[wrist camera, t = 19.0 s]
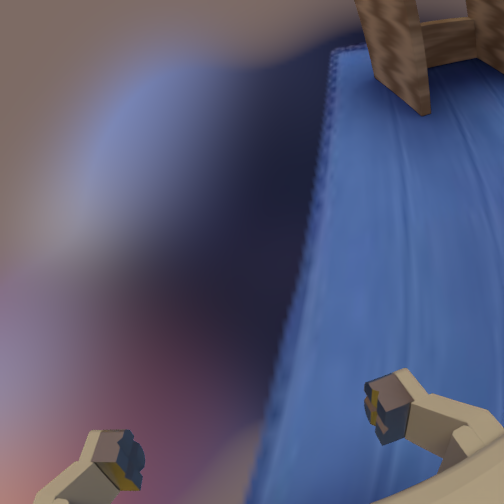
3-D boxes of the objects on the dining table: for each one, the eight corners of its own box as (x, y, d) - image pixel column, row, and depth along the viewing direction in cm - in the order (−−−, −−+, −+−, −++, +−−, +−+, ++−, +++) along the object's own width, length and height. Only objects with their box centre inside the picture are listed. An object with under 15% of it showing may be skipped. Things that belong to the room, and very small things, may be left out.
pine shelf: (529, 86, 30) (516, -70, 10) (421, 116, 35) (375, -87, 15) (477, 53, 39) (453, -78, 19) (374, 77, 44) (325, -76, 23)
